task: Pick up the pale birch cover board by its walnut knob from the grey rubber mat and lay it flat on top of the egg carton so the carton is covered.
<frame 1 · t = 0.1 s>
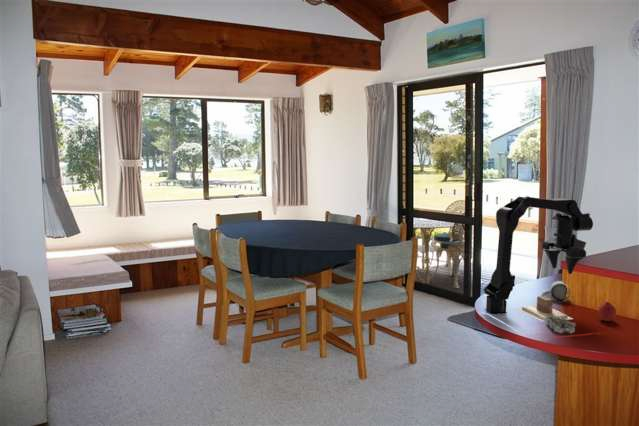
hand: (562, 271, 214), 15 cm above the counter, tool pointing down, fingers open, 9 cm apart
cover board: (544, 313, 206), point 1 cm above the counter, touching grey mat
ceramic mug: (555, 300, 227), on the counter
onion: (606, 322, 199), on the counter
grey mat: (544, 315, 206), on the counter
egg carton: (559, 330, 190), on the counter
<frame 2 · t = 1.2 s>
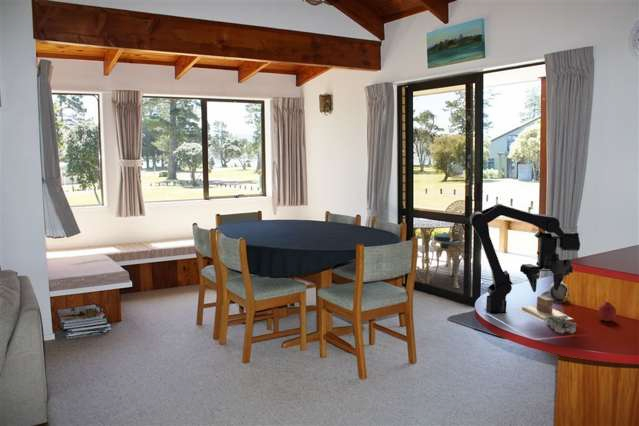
hand: (545, 291, 205), 9 cm above the counter, tool pointing down, fingers open, 9 cm apart
nothing on the counter moved.
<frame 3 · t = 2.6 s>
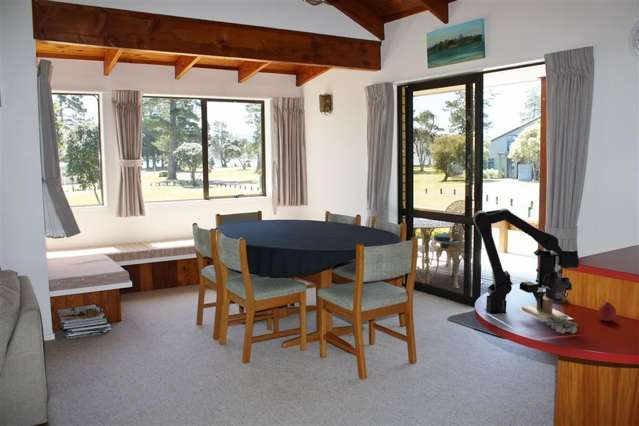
hand: (544, 308, 206), 3 cm above the counter, tool pointing down, fingers closed on cover board, 3 cm apart
cover board: (544, 313, 206), point 1 cm above the counter, touching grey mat, gripper
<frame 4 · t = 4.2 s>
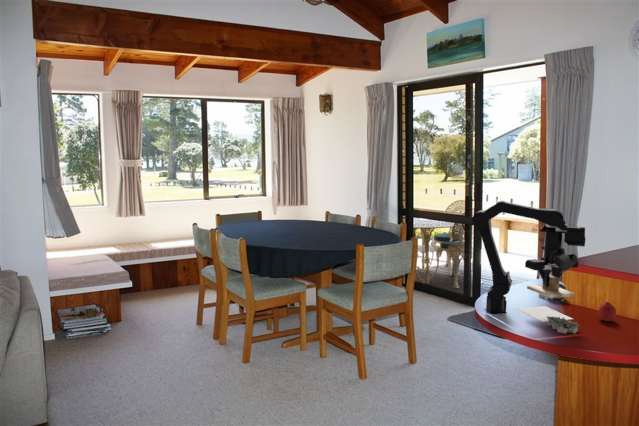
hand: (550, 286, 200), 12 cm above the counter, tool pointing down, fingers closed on cover board, 3 cm apart
cover board: (550, 292, 200), point 10 cm above the counter, touching gripper
when the fingers open (7 cm above the counter, at t = 5.7 s): cover board drops 2 cm, resting on egg carton.
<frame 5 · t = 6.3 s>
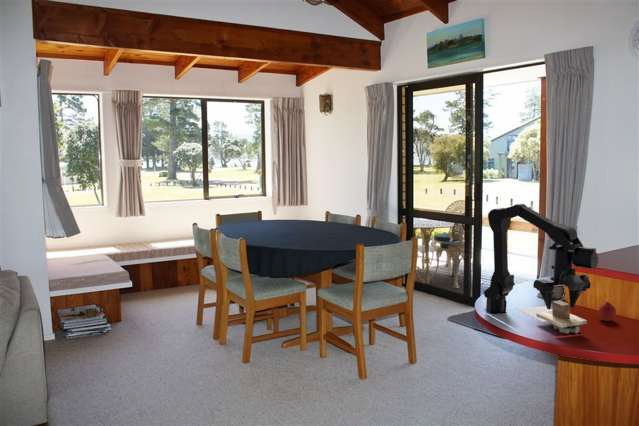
hand: (560, 308, 189), 7 cm above the counter, tool pointing down, fingers open, 9 cm apart
cover board: (561, 319, 190), point 3 cm above the counter, touching egg carton
egg carton: (563, 330, 190), on the counter, touching cover board
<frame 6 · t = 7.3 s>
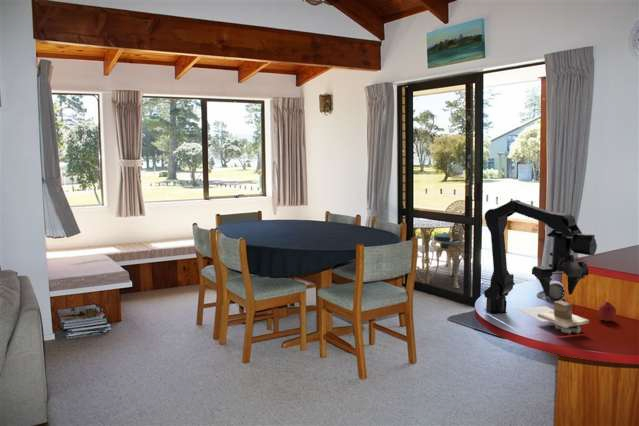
hand: (558, 295, 190), 12 cm above the counter, tool pointing down, fingers open, 9 cm apart
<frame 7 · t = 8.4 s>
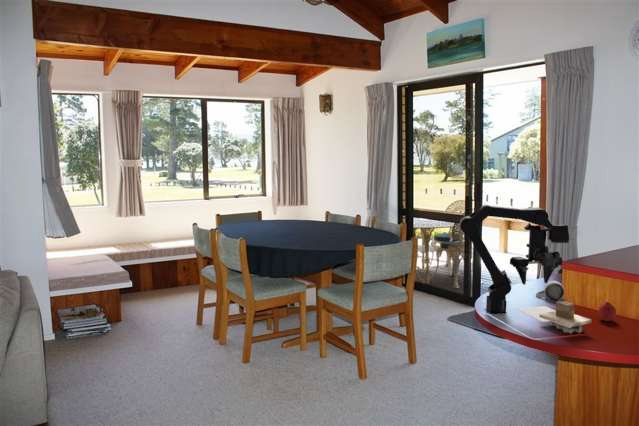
hand: (534, 283, 204), 12 cm above the counter, tool pointing down, fingers open, 9 cm apart
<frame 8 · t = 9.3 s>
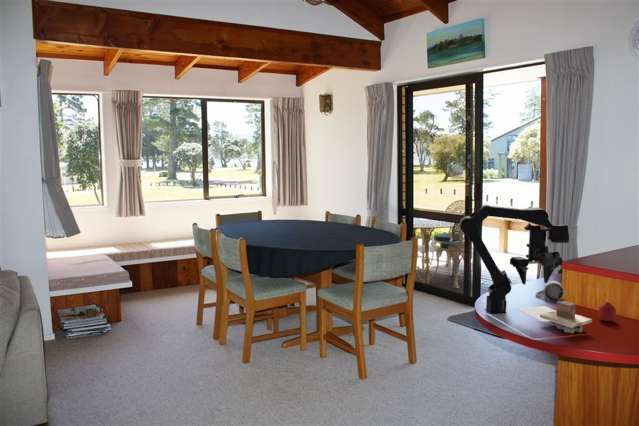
hand: (534, 283, 204), 12 cm above the counter, tool pointing down, fingers open, 9 cm apart
cover board: (565, 319, 190), point 4 cm above the counter
egg carton: (565, 330, 191), on the counter
at the end: cover board 0.5 cm from the egg carton (horizontally); cover board point 3.4 cm above the counter; cover board tilted 3° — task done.
